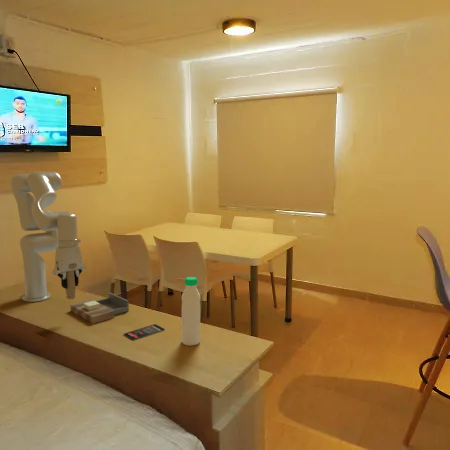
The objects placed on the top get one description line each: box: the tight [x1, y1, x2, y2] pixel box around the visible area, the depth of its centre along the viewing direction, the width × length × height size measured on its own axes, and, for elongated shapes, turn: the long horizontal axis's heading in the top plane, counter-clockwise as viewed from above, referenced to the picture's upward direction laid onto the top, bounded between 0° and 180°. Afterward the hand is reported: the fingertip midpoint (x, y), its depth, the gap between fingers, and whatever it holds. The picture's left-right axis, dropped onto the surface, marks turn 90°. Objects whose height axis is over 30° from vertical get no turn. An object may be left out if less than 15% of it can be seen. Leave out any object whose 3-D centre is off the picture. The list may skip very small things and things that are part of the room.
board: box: [69, 299, 115, 325], centre depth 181 cm, size 20×10×3 cm, turn 46°
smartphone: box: [123, 323, 165, 342], centre depth 163 cm, size 7×1×15 cm
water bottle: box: [181, 276, 201, 347], centre depth 153 cm, size 7×7×25 cm
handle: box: [65, 264, 77, 300], centre depth 172 cm, size 5×6×15 cm
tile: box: [84, 300, 100, 311], centre depth 181 cm, size 5×5×2 cm
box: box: [95, 292, 129, 317], centre depth 187 cm, size 16×8×5 cm, turn 46°
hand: (70, 286), depth 172 cm, fingers closed on handle, 4 cm apart
